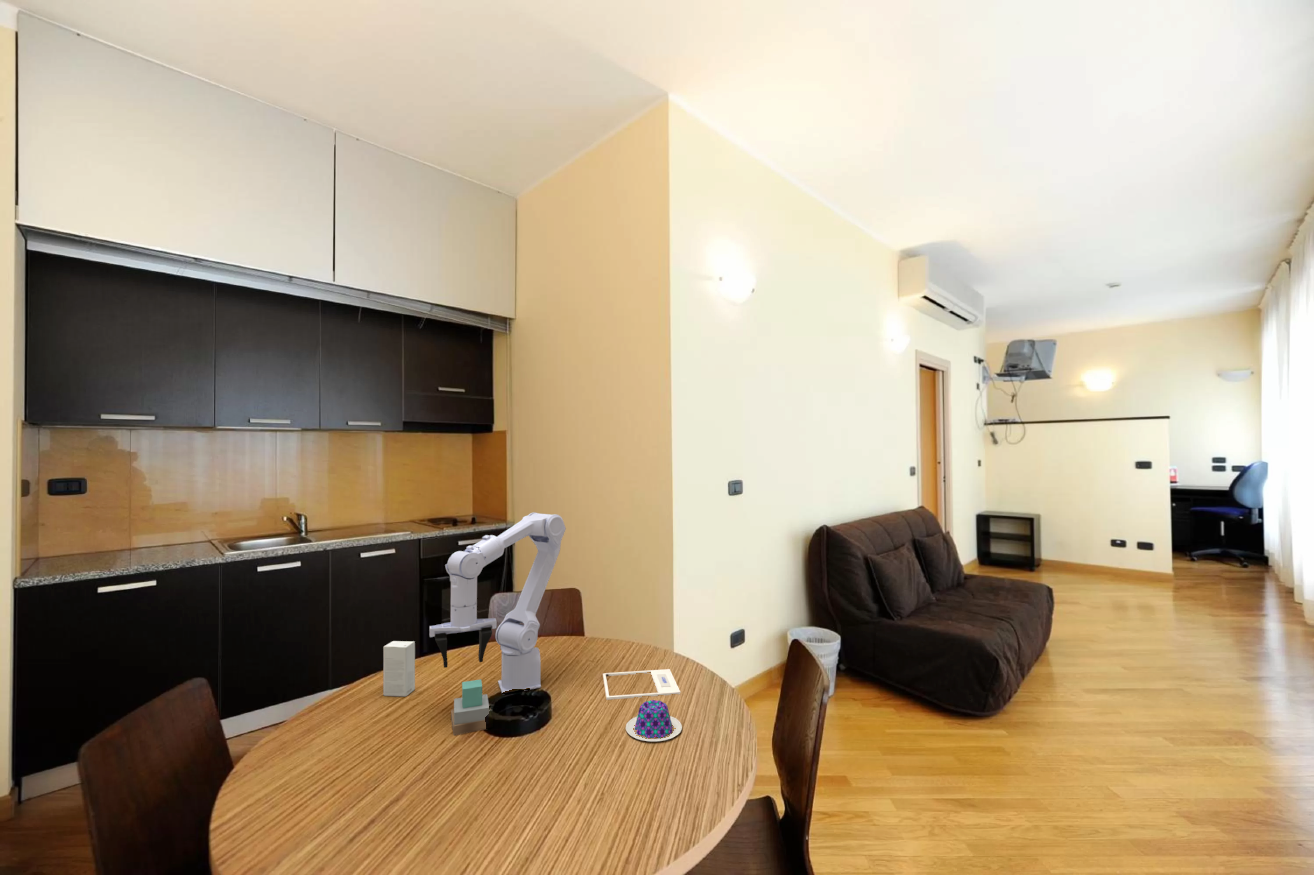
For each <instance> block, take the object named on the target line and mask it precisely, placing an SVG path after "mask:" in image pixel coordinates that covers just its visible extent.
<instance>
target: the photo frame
mask: <svg viewBox="0 0 1314 875" xmlns="http://www.w3.org/2000/svg"><path fill="white" fill-rule="evenodd" d="M647 672H651V673H650V675H652V676H651V678H652V681H653V684H654V683H655V684H654V687H655V686H656V687H655V690H656V692H651V693H650V692H647V693H634V694H620V695H618V694H617V695H610V694H609V687H608V681H607V676H608V677H610V676H611V677H613V676H614V677H615V676H625V675H628V674H630V675H637V674H636V673H644V674H648V673H647ZM602 678H603V685H604V691H605V698H606V701H608V700H609V701H610V700H622V699H634V697H638V698H643V697H642V696H651V697H659V696H658V695H664V696H672V695H671V694H678V695H681V694H680V693H681V690H680V688H679V686H678V683H677V682H676V679H675V677H674V675H673V674H672V671H671V669H670V668H667V669H651V670H637V671H636V670H635V671H634V670H633V671H622V672H621V671H620V672H606V673H602Z"/></svg>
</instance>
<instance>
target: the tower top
mask: <svg viewBox="0 0 1314 875" xmlns="http://www.w3.org/2000/svg"><path fill="white" fill-rule="evenodd" d="M489 706H490V703H489V698H488V694H487V693H485V694H484V693H483V694H482V705H480V706H474V707H468V708H463V706H462V697H457V698H456V697H455V698H453V710H454V725H457V724H463V723H470V722H476V721H482V720H485V717H486V716H487V715H488V714H489Z"/></svg>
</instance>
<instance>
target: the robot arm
mask: <svg viewBox="0 0 1314 875" xmlns="http://www.w3.org/2000/svg"><path fill="white" fill-rule="evenodd" d="M566 529H567V528H566V525H565V522H564V519H563V517H562V516H561V515H560V514H549V513H539V512H535V511H533V512H530V513H529V514H528V515H525V516H522V519H521V520H520V521H518V522H517V523H515V524H514V525H512V526H511V527H509V528H508V529H507V530H504V531H503V532H502V533H500V534H499V535H497V536H496V535H493V534H490V535H488V534H485V535H483V536H482V537H481V538H482V539H481V540H479V541H478V542H476V543H475V544H472V545H468V546H466V549H464V550H463V551H462V550H458V551H455V552H454V553H452V554H451V555H450V556H449V558H448V560H447V563H446V564H445V565H444V566H445V570H446V573H447V574H448V575H449V582H450V622H444V623H441V624H436V625H429V638H433V637H434V641H435V643H436V645H437V647H438V648H439V651H440V653H441V656H442V661H443V662H442V663H443V668H444V669H446V668H448V635H450V634H457V633H465V632H473V631H478V643H479V644H478V654H477V655H478V656H477V657H478V662H479V663H483V661H484V657H485V651H486V649H487V646H488V644H489V642H490V640H491V637H492V635H493V630H494V629H496V630H495V636H494V637H495V641H496V642H497V644H498V645H499V647H500V650H501V679H499V680H497V683H498V686H499V689H500V692H501V694H502V693H503V692H505V691H509V690H512V689H526V688H530V690H534V689H539V688H541V687H542V685H541V673H542V672H541V668H542V666H541V665H542V664H541V654H540V653H541V652H540V649H539V647H537V646H536V645H537V642H538V634H539V633H538V632H539V629H540V626H541V623H540V622H539V620H538V618H537V616H536V614H537V612H538V609H539V607H540V603H541V601H542V598H543V596H544V594H545V591H546V589H547V586H548V583H549V582H550V578H551V576H552V573H553V571H554V568H555V566H556V562H557V560H558V557H559V554H560V551H561V545H562V540H563V537H564V536H565V533H566ZM526 537H529V539H530V540H531V542H533V544H534V545H535V546H536V549H537V553H536V556H535V558H534V560H533V563H532V565H531V568H530V570H529V573H528V576H527V578H526V580H525V582H524V585H523V588H522V590H521V593H520V595H519V598H518V600H517V602H516V606H515V607H514V609H512V610H510V611H509V612H507V613H506V615H505V616H504V619H503V620H502V621H501V623H500V624H499V625H497V618H495V617H492V618H478V613H477V612H478V610H477V609H478V607H477V606H478V599H477V598H478V576H479V575H480V574H481V572H482V570H483V568H485V567H486V566H487V565H489V564H491V563H492V562H494V561H495V560H497V559H498V558H500V557H502V556H503V555H504V552H505V549H506V548H508V547H511V545H514V544H515V543H517V542H519V541H520V540H523V539H525V538H526ZM492 629H493V630H492ZM535 646H536V647H535Z"/></svg>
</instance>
